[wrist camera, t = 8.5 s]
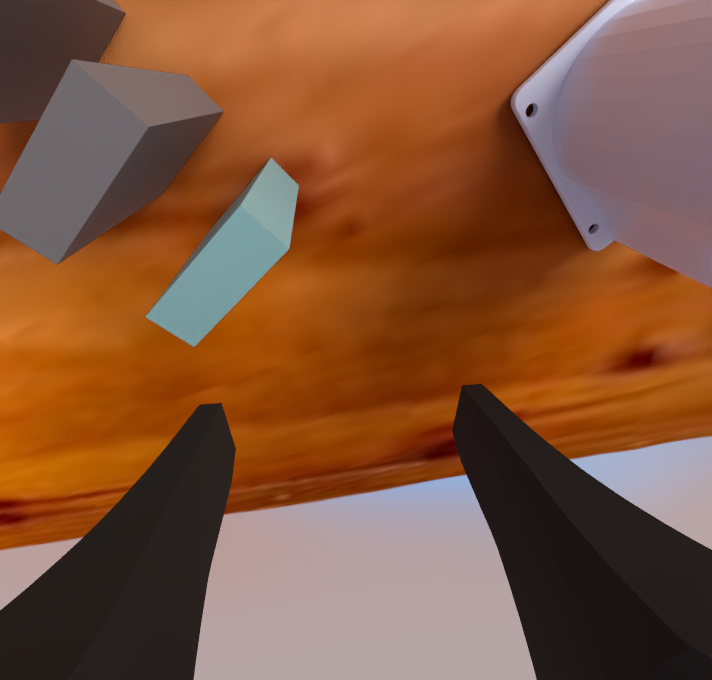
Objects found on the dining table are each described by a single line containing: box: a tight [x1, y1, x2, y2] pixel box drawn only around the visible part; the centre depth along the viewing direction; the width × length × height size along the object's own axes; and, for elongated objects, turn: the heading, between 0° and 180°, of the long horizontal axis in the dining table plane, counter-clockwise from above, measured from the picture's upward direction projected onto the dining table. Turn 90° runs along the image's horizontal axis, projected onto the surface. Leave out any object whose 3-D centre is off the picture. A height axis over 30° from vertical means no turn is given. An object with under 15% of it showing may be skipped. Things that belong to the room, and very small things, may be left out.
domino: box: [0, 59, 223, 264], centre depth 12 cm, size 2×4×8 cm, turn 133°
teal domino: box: [146, 158, 299, 347], centre depth 13 cm, size 2×4×8 cm, turn 133°
